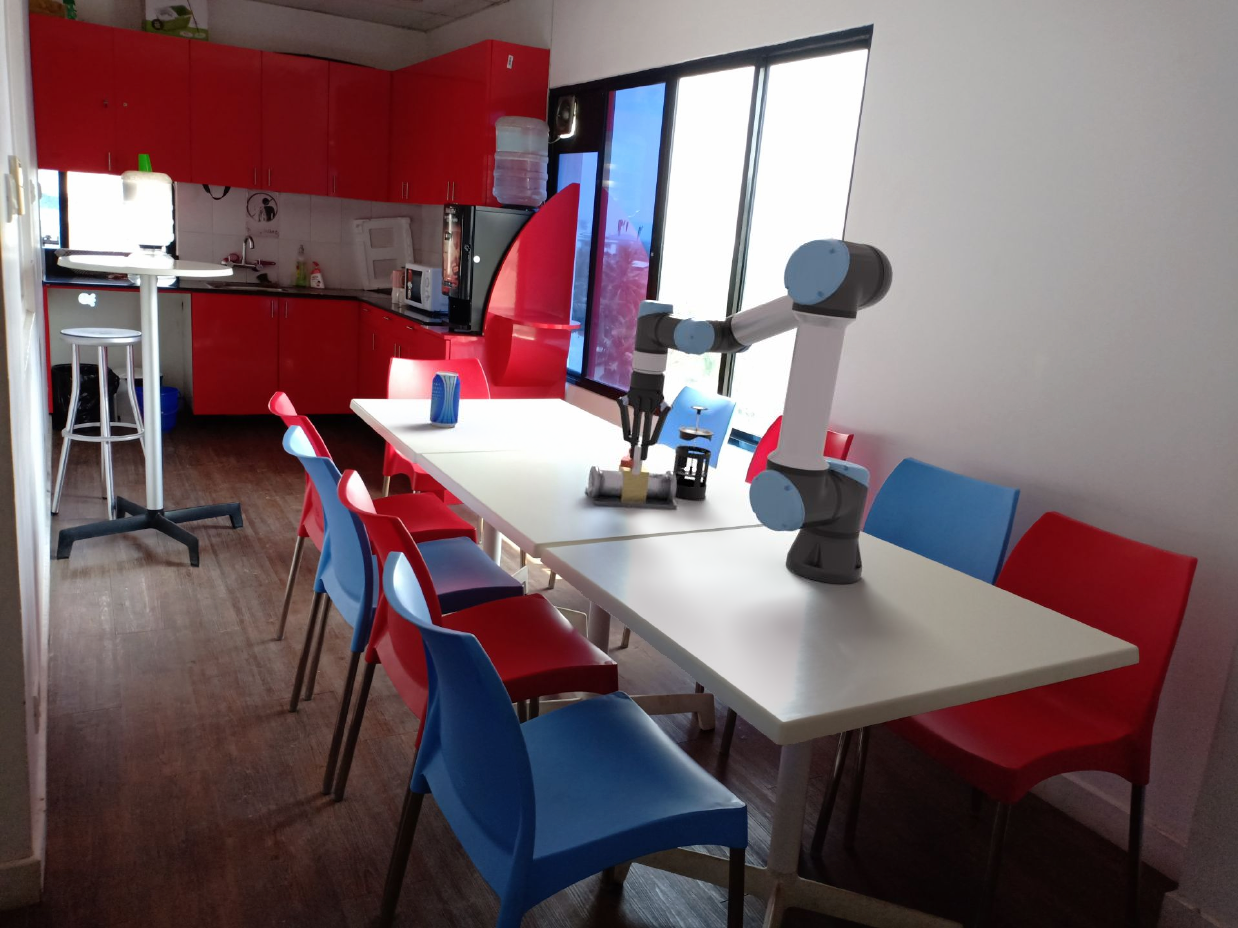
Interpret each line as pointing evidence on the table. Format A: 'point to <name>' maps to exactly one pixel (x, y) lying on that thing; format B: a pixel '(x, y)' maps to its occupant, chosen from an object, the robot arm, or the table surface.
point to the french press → (690, 487)
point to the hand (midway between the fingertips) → (636, 473)
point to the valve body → (632, 488)
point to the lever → (627, 461)
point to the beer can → (445, 399)
